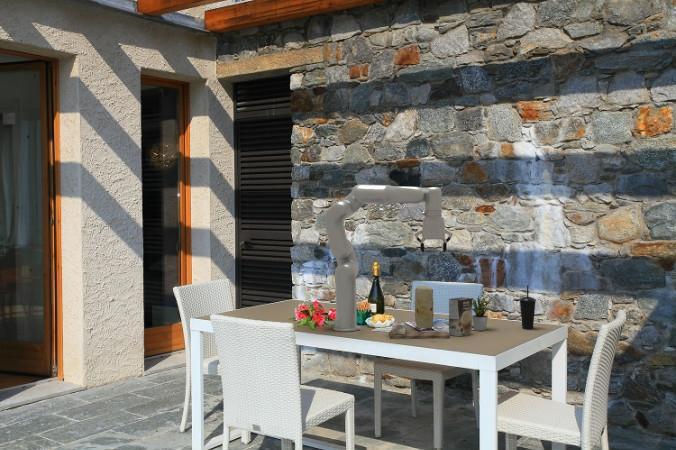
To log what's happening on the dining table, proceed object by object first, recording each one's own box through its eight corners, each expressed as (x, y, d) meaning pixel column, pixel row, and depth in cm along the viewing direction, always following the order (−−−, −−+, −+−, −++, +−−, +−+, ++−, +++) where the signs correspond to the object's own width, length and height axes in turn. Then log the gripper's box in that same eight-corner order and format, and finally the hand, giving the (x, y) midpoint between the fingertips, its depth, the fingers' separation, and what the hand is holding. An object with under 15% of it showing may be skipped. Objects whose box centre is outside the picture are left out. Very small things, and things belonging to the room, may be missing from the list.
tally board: (390, 338, 320) (389, 335, 319) (388, 334, 330) (388, 331, 329) (449, 338, 319) (449, 335, 319) (446, 333, 329) (446, 330, 329)
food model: (436, 328, 342) (436, 286, 341) (429, 331, 337) (428, 287, 336) (418, 326, 348) (418, 284, 347) (411, 328, 343) (410, 286, 342)
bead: (393, 334, 321) (393, 325, 321) (392, 331, 327) (392, 322, 327) (404, 334, 321) (404, 325, 321) (403, 331, 327) (403, 322, 327)
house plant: (496, 333, 330) (496, 297, 329) (465, 332, 332) (465, 296, 332) (496, 327, 343) (496, 292, 343) (466, 326, 346) (466, 292, 346)
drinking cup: (517, 329, 339) (517, 286, 338) (521, 326, 346) (521, 284, 345) (534, 330, 335) (534, 286, 335) (537, 327, 342) (537, 285, 341)
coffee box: (459, 336, 323) (459, 300, 322) (448, 334, 327) (448, 298, 327) (472, 333, 329) (472, 298, 328) (461, 332, 334) (461, 296, 333)
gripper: (415, 214, 330) (415, 252, 331) (453, 214, 330) (453, 252, 331) (413, 214, 338) (413, 251, 339) (451, 214, 338) (451, 251, 338)
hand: (433, 252), depth 335 cm, fingers open, 9 cm apart
